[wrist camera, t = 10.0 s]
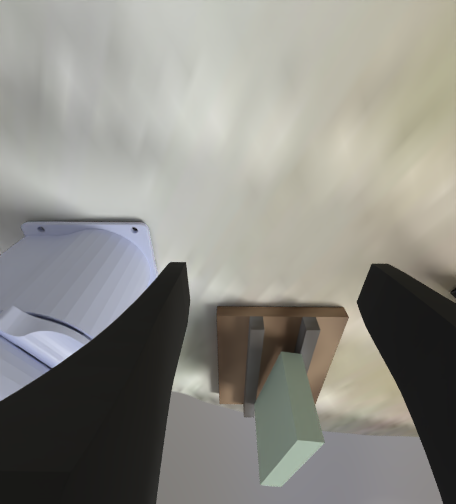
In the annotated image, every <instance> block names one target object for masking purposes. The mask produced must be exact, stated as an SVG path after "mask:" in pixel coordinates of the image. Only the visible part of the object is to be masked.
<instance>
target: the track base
mask: <svg viewBox="0 0 456 504" xmlns="http://www.w3.org/2000/svg"><path fill="white" fill-rule="evenodd" d="M348 318H349V317H348V315H347V313H346V311H345V309H344V308H343V307H228V306H217V340H218V370H219V400H220V404H243V406H244V417H254V412H255V408H254V404H255V402H256V400H257V398H258V396H259V394H260V392H261V390H262V388H263V386H264V384H265V382H266V380H267V378H268V376H269V374H270V372H271V370H272V368H273V366H274V364H275V362H276V360H277V358H278V356H279V354H280V353H281V352H289V353H297V354H302V358H303V361H304V365H305V369H306V373H307V377H308V381H309V384H310V388H311V392H312V396H313V400H314V403H315V404H316V401H317V398H318V396H319V393H320V391H321V388H322V385H323V383H324V380H325V378H326V375H327V373H328V370H329V367H330V365H331V362H332V360H333V357H334V354H335V352H336V349H337V347H338V344H339V341H340V339H341V336H342V334H343V331H344V328H345V326H346V323H347V321H348Z"/></svg>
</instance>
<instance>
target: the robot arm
mask: <svg viewBox="0 0 456 504" xmlns="http://www.w3.org/2000/svg"><path fill="white" fill-rule="evenodd" d="M41 227H42V228H44V230H43V229H42V228H41ZM132 227H135V228H137V230H138V231H135V230H133V228H132ZM21 229H22V231H23V233H24V235H25V237H24V238H22V239H21V240H20V241H18V242H17V243H16V244H14V245H13V246H12V247H10V248H9V249H7V250H6V251H5V252H3V253H2V254H1V255H0V504H156V498H157V491H158V483H159V475H160V467H161V460H162V452H163V445H164V437H165V430H166V423H167V416H168V410H169V403H170V396H171V390H172V385H173V381H174V376H175V372H176V368H177V364H178V360H179V356H180V352H181V348H182V344H183V340H184V336H185V332H186V327H187V323H188V315H189V307H190V294H189V285H188V276H187V267H186V262H170V263H169V264H168V265H167V266H166V267H165V268H164V270H163V271H162V272H161V273H160V274H159V275H158V273H157V268H156V263H155V258H154V252H153V247H152V242H151V237H150V232H149V227H148V226H147V225H146V224H145V223H142V222H25V223H23V224H22V225H21ZM357 304H358V307H359V310H360V313H361V316H362V318H363V321H364V323H365V326H366V328H367V330H368V332H369V334H370V335H371V337H372V339H373V341H374V343H375V345H376V347H377V348H378V350H379V352H380V354H381V356H382V358H383V359H384V361H385V363H386V365H387V367H388V369H389V370H390V372H391V374H392V376H393V378H394V380H395V382H396V384H397V386H398V388H399V390H400V392H401V394H402V396H403V398H404V401H405V403H406V405H407V408H408V410H409V412H410V415H411V417H412V419H413V422H414V424H415V427H416V429H417V432H418V435H419V437H420V440H421V442H422V445H423V447H424V450H425V452H426V455H427V458H428V460H429V464H430V466H431V469H432V472H433V475H434V478H435V481H436V483H437V486H438V489H439V492H440V495H441V498H442V501H443V504H456V303H454V302H452V301H451V300H449V299H447V298H446V297H444V296H442V295H441V294H439V293H437V292H436V291H434V290H432V289H431V288H429V287H427V286H426V285H424V284H422V283H421V282H419V281H417V280H416V279H414V278H412V277H411V276H409V275H407V274H406V273H404V272H402V271H400V270H399V269H397V268H395V267H393V266H391V265H389V264H372V265H371V267H370V270H369V272H368V275H367V277H366V280H365V282H364V285H363V287H362V290H361V293H360V295H359V298H358V300H357Z"/></svg>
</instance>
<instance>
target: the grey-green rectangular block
mask: <svg viewBox="0 0 456 504" xmlns="http://www.w3.org/2000/svg"><path fill="white" fill-rule="evenodd" d="M254 408H255V421H256V435H257V449H258V462H259V476H260V485H264V486H277V487H282V486H283V485H284V484H285V483H286V481H287V480H288V479H289V478H290V477H291V476H292V475H293V474H294V473H295V472H296V471H297V470H298V469H299V468H300V467H301V466H302V465H303V464H304V463H305V462H306V461H307V460H308V459H309V458H310V457H311V456H312V455H313V454H314V453H315V452H316V451H317V450H318V449H319V448H320V447H321V446H322V445H323V444H324V443H325V442H324V438H323V435H322V430H321V426H320V423H319V419H318V415H317V411H316V407H315V403H314V400H313V396H312V392H311V388H310V384H309V381H308V377H307V373H306V369H305V365H304V361H303V358H302V354H297V353H289V352H281V353H280V354H279V356H278V358H277V360H276V362H275V364H274V366H273V368H272V370H271V372H270V374H269V376H268V378H267V380H266V382H265V384H264V386H263V388H262V390H261V392H260V394H259V396H258V398H257V400H256V402H255V404H254Z"/></svg>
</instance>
